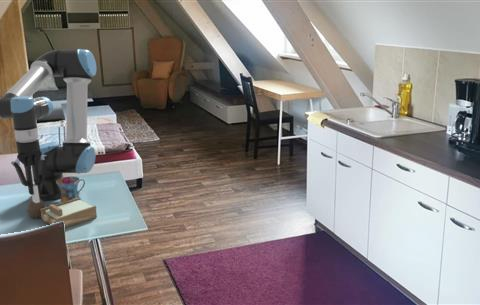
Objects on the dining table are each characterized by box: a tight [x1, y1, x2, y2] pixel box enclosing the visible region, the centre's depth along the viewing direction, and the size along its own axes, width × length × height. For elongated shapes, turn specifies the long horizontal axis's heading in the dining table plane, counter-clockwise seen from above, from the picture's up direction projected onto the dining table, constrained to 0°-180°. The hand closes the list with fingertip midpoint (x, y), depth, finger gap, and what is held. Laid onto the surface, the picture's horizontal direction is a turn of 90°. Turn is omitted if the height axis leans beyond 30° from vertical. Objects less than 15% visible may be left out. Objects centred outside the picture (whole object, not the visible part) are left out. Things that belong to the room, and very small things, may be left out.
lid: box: [45, 199, 93, 219], centre depth 188 cm, size 12×15×4 cm
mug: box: [56, 176, 86, 203], centre depth 204 cm, size 12×9×11 cm
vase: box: [26, 196, 47, 220], centre depth 190 cm, size 7×7×9 cm
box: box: [40, 198, 98, 229], centre depth 188 cm, size 14×16×5 cm
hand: (36, 201), depth 177 cm, fingers closed
